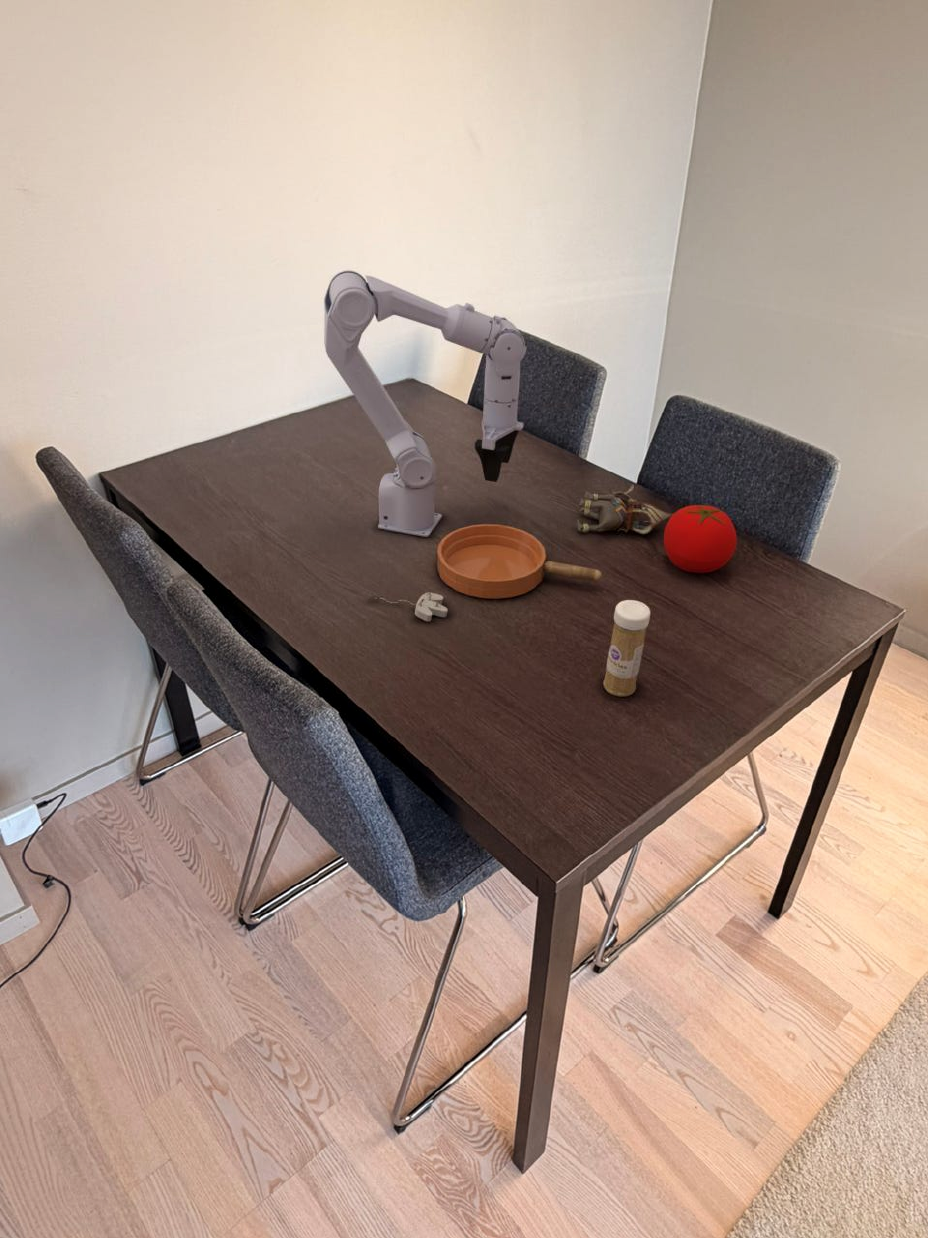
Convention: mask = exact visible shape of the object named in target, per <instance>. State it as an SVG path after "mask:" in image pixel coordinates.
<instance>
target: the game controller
mask: <svg viewBox="0 0 928 1238" xmlns="http://www.w3.org/2000/svg"><path fill="white" fill-rule="evenodd" d="M380 599H382V600H385V601H386V602H387V603H391V604H392V603H393V604H396V603H398V602H399V601H401V599H399V600H398V601H396V602H395V601H389V600H387V599H386V598H383V597H380ZM373 600H374V601H376V598H374V599H373ZM443 600H444V596H443V595H441V594H438V593H435V592H429V591H428V592H425V593H423V594H422V595H421V596H420V597H419V598H418V600H417V602H416V603H412V602H411V601H408V600H406V599H402V601H404V602H407V603H409V604H411V605H413V606H415V609H414V610H415V611H414V615H415V616H416V617H417V618H419V619H421V620H422V621H425V622H431V621H432V617H433V616H436V617H440V618H446V617H447V615H448V608H447V607H446V606H444V605H443Z"/></svg>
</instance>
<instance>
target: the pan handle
mask: <svg viewBox="0 0 928 1238" xmlns="http://www.w3.org/2000/svg"><path fill="white" fill-rule="evenodd" d="M543 570H544V573H546V574H549V575H556V576H560V577H567V578H572V579H578V580H583V581H587V582H593V583H598V582H601V580H602V579H603V573H602V571H601V570H599V569H598V568H597V569H596V568H591V567H585V566H579V565H574V564H568V563H563V562H558V561H552V560H547V561H545V563H544V566H543Z"/></svg>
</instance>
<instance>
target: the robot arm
mask: <svg viewBox="0 0 928 1238" xmlns="http://www.w3.org/2000/svg"><path fill="white" fill-rule="evenodd" d="M323 311H324V313H323V314H324V316H323V317H324V323H323V324H324V325H323V326H324V328H323V330H324V331H323V332H324V333H323V334H324V335H323V341H324V342H323V343H324V349H325V353H326V355H327V358H329V360H330V361H331V363H332V365H333V366H334V368H335V369H336V371H337V372H338V374H339V375H340V377H341V378H342V380H343V381H344V382H345V384H346V385H347V387H348V388H349V390H350V391H351V394H352V395H353V396H354V397H355V399H356V400H357V402H358V404H359V405H360V407H361V408H362V410H363V411H364V413H365V414H366V416H367V417H368V419H369V420H370V421H371V423H372V424H373V426H374V428H375V429H376V431H377V432H378V434H379V435H380V436H381V438H382V439H383V441H384V442H385V444H386V446H387V448H388V450H389V452H390V455H391V456H392V458H393V460H394V461H395V464H396V467H395V470H394V472H393V473H390V472H389V473H385V474H384V475H383V476H382V478H381V480H380V483H379V487H378V520H379V524H378V526H377V528H378V529H380V530H384V531H391V532H396V533H402V534H407V535H412V536H418V537H422V538H429V537H430V535H432V532H433V531H434V530H435V528H436V526H437V525H438V524H439V522H440V520H441V519H442V517H443V515H442V513H437V512H435V495H436V494H435V492H436V488H435V487H436V485H435V484H436V480H435V479H436V474H437V465H436V463H435V460H434V459H433V458H432V455H431V452H430V450H429V449H430V448H429V446H428V442H427V440H426V438H425V437H424V436H423V435H421V434H420V433H418V432H416V431H415V430H414V429H413V428H412V427H411V425H410V424H409V423H408V421H406V419H405V418H404V416H403V415H402V413H401V412H400V410H399V408H398V407H397V406H396V404H395V403H394V401H393V399H392V398H391V396H390V395H389V393H388V392H387V390H386V388H385V387H384V386H383V384H382V382H381V380H380V379H379V377H378V375H376V372H375V371H374V370H373V368H372V367H371V365H370V364H369V362H368V361H367V359H366V357H365V356H364V354H363V352H362V351H361V349H360V348H359V345H360V342H361V338H362V335H363V333H364V332H365V331H366V329H367V328H368V326H369V325H370V324H371V322H372V321H373V319H374V317H375V319H376V321H377V323H380V322H382V321H384V320H386V319H388V318H391V317H392V316H396V317H400V318H404V319H406V320H410V321H413V322H416V323H419V324H422V325H425V326H428V327H432V328H434V329H437V330H440V332H441V334H442V337H443V339H444V340H445V341H447V342H449V343H452V344H454V345H457V346H460V347H463V348H466V349H468V350H471V351H474V352H477V353H479V354H486V359H485V362H486V363H485V368H484V392H483V412H482V413H483V414H482V419H481V430H482V435H483V436H482V437H481V438H482V439H480V438H479V439H476V441H475V442H474V450H475V452H476V453H477V456H478V457H479V460H480V463H481V468H482V471H483V476H484V480H485V481H488V482H492V483H497V482H498V480H499V478H500V474H501V469H502V465H503V463H504V464H509V462H510V460H511V456H512V452H513V449H514V446H515V442H516V439H517V436H518V434H519V432H520V431H522V430H523V428H524V424H525V423H524V422H522V421H520V420H518V408H519V395H520V379H521V361H522V360H523V359H524V358H525V356H526V354H527V349H528V347H527V346H526V341H525V338H524V336H523V335H522V333H521V332H520V331H519V329H518V327H516V325H515V324H514V323H513V322H512V321H510V320H508V319H507V318H506V317H501V316H498V315H496V314H494V315H493V317H492V316H491V315H487V314H485V313H482V312H479V311H477V310H475V307H474V305H473V304H471V303H468V302H465V303H464V305H462V304H459V303H456V304H453V305H451V306H449V307H444V306H442V305H441V304H437V303H434V302H433V301H430V300H429V299H428V300H427V299H426V298H423V297H421V296H419V295H417V294H415V293H413V292H410V291H408V290H406V289H402V288H401V287H398V286H396V285H394V284H391V283H389V282H386V281H384V280H382V279H380V278H378V277H374V276H371V275H367V274H366V275H365V277H364V276H363V275H362V274H360V273H359V272H357V271H355V270H350V269H348V270H342V271H339V272H337V273H336V274H335V275H333V276H332V278H331V279H330V281H329V284H328V286H327V289H326V292H325V295H324V297H323Z"/></svg>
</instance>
